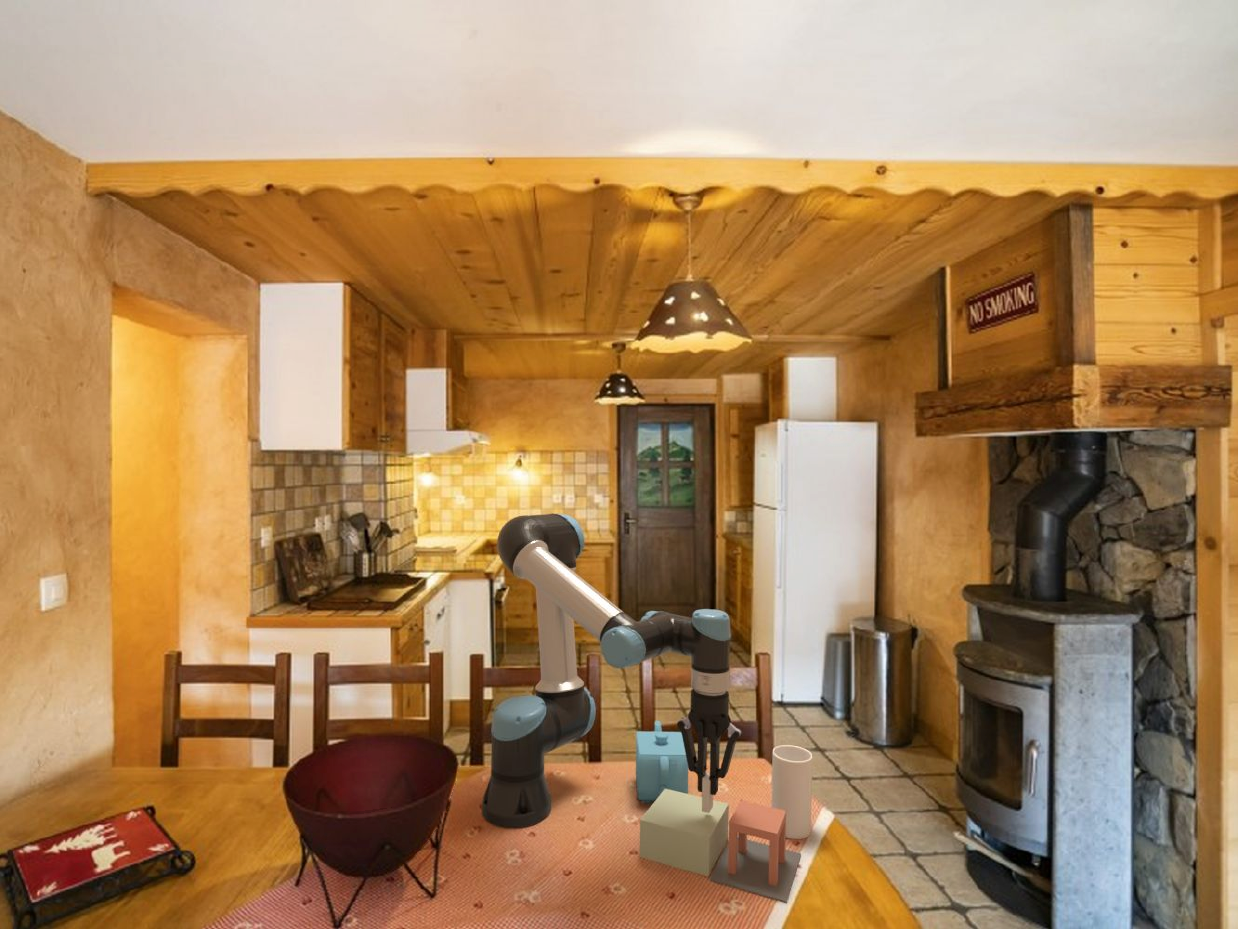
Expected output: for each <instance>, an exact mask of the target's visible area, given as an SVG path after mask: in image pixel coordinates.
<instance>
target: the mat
mask: <svg viewBox="0 0 1238 929" xmlns="http://www.w3.org/2000/svg"><path fill="white" fill-rule="evenodd" d="M726 844H727V845H725V847H724V849H723V852H722V853H721V856H720V858H719V859H718V860H717V861H718V862H716V863H717V864H715V865H716V866H714V868H713V869H714V870H712V871H713V872H711V874H710V875H711V876H709V882H714V883H716V884H720V885H724V886H727V887H730V888H733V889H738V890H740V891H744V892H746V893H751V894H754V895H758V896H761V897H765V898H768V899H771V900H774V901H779V902H780V903H781V902H782V903H784V904H785V903H786V904H787V902H788V898H789V895H790V892H791V889H792V886H793V883H794V879H795V876H796V873H797V869H798V866H799V862H800V859H801V857H802V856H801V855H802V853H801V852H797V851H793V850H790V849H786V848H785V862H784V864H783V863H780V862H778V883H777V886H774V885H770V884H769V844H766V843H762V842H758V841H754V840H751V839H747V850H746V852H745V853H742V852H738V855H737V872H736V874H731V873H728V848H729V841H727V843H726Z"/></svg>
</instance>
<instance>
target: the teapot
mask: <svg viewBox="0 0 1238 929" xmlns="http://www.w3.org/2000/svg"><path fill="white" fill-rule="evenodd" d="M635 736H636V738H635V739H636V741H635V742H636V743H635V779H636V780H635V781H636V782H635V783H636V791H637V799H638V800H639V801H640V802H642V803H644V804H653V803H654V801H656V799H657V798H658V797H659V796H660V794H661V793H662V792H663V791H664V789H669V790H673V791H677V792H682V793H686V794H689V768H688V763H687V758H686V753H685V748H684V743H683V738H682V733H681V731H663V728H662V722H661V721H660V720H655V721H654V729H653V731H643V730H642V731H638V730H637V731H636V734H635Z"/></svg>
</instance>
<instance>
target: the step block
mask: <svg viewBox="0 0 1238 929" xmlns="http://www.w3.org/2000/svg"><path fill="white" fill-rule="evenodd" d="M729 809H730V804H729V803H728V802H724V801H719V800H714V799H713V807H712V809H711V811H710V812H709V813H707V812H703V811H702V796H698V795H693V794H691V793H690V794H689V793H688V794H686V793H682V792H677V791H673V790H669V789H664V791H663V792H662V793H661V794H660V796H659V797H658V798H657V799H656V800H654V801H653V802H652V803H651V806H650V807H649V808H648V809H647V810H646V812H645V813H644V814H643V816H642V817H641V818H640V819H639V848H638V849H639V850H638V852H639V854H638V855H639V856H638V857H639V858H642V859H646V860H649V861H652V862H655V863H660V864H663V865H667V866H669V867H673V868H676V869H681V870H683V871H687V872H690V873H694V874H698V875H701V876H704V877H709V878H710V875H711V874H712V871H713V869H714V868H715V865H716V863H717V861H718V860H719V857H720V855H721V854H722V853H723V852H722V851H724V849H725V847H726V844H727V843H728V841H729V819H730V818H729V816H730V814H729V812H730V810H729Z"/></svg>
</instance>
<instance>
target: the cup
mask: <svg viewBox="0 0 1238 929" xmlns="http://www.w3.org/2000/svg"><path fill="white" fill-rule="evenodd" d="M771 762H772V763H771V764H772V767H771V769H772V770H771V803H770V804H771V805H770V806H771V807H772V808H776V809H780V810H785V811H786V838H787V839H792V840H800V839H805V838H808V837H809V836H810V835H811V833H812V800H813V799H812V797H813V796H812V795H813V794H812V792H813V754H812V753H811V751H809V750H808V749H806V748H804V747H801V746H796V745H793V744H791V745H790V744H783V745H777V746H775V747H773V748H772V761H771Z"/></svg>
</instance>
